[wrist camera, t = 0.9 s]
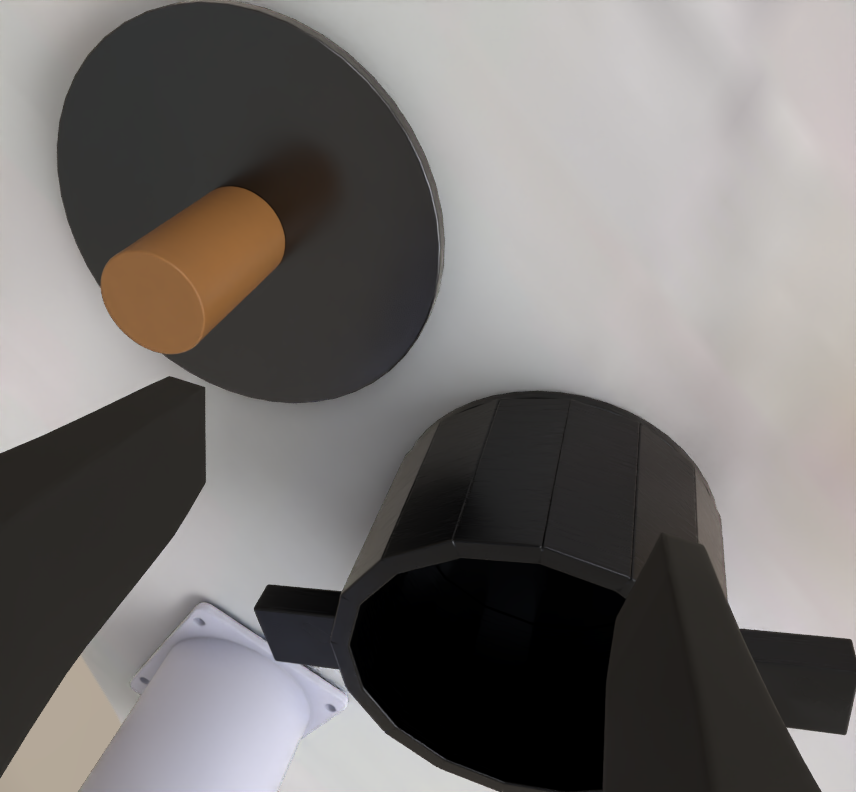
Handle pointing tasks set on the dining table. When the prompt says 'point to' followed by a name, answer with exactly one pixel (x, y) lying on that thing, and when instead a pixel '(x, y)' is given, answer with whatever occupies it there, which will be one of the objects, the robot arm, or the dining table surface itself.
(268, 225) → the lid
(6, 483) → the robot arm
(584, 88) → the dining table surface
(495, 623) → the pot
